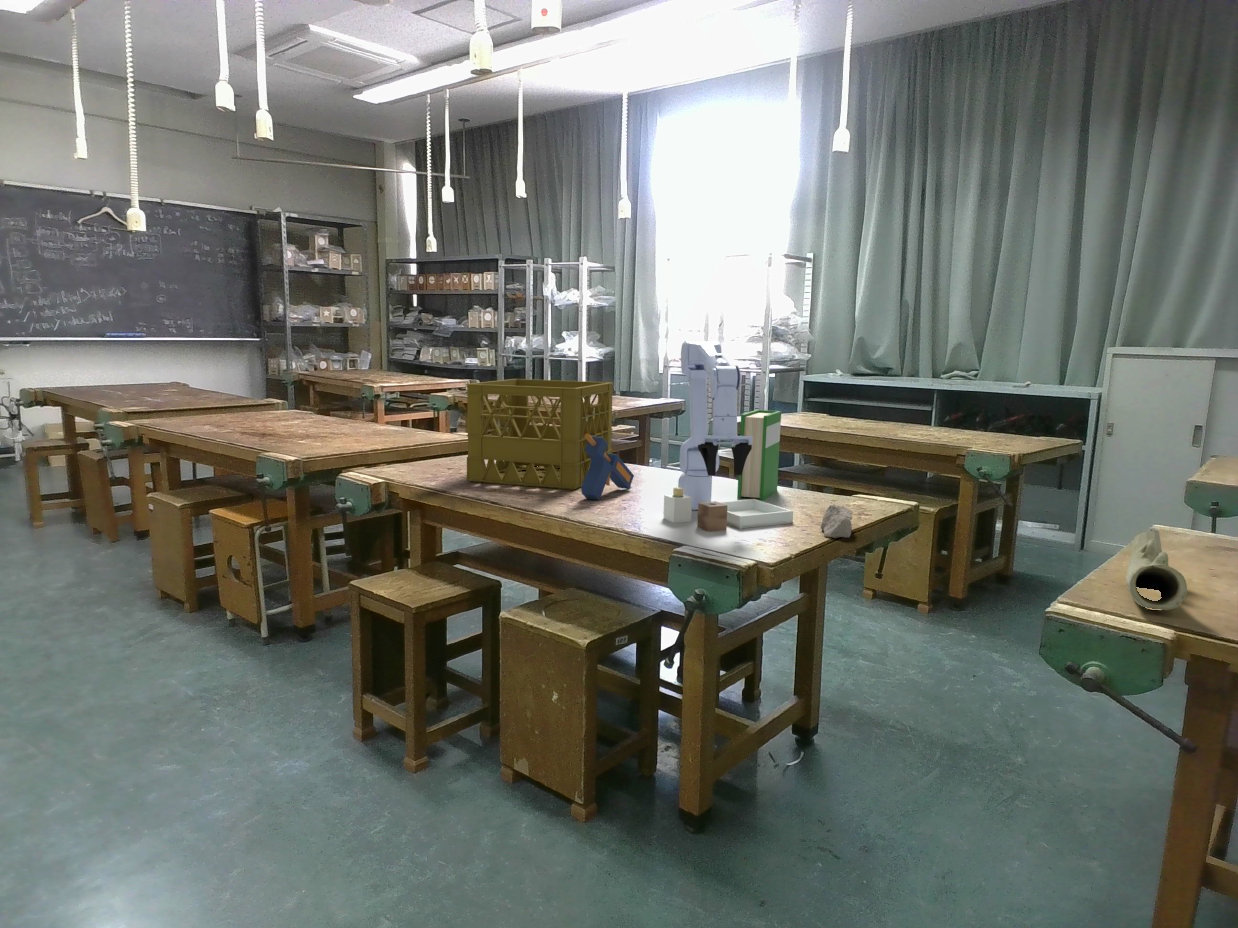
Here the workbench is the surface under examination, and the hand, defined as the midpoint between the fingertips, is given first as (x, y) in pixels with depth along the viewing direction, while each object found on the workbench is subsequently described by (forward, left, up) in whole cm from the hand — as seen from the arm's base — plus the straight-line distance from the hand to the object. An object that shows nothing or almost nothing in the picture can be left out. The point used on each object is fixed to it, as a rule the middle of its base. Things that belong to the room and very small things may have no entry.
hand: (725, 475), depth 185 cm
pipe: (+70, +45, -14) cm, 84 cm away
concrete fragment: (+11, +25, -14) cm, 30 cm away
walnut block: (-3, -1, -13) cm, 14 cm away
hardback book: (-33, +35, -14) cm, 50 cm away
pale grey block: (-14, -4, -13) cm, 20 cm away
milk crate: (-82, -13, -14) cm, 84 cm away
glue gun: (-49, -6, -14) cm, 51 cm away
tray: (-8, +13, -13) cm, 20 cm away
